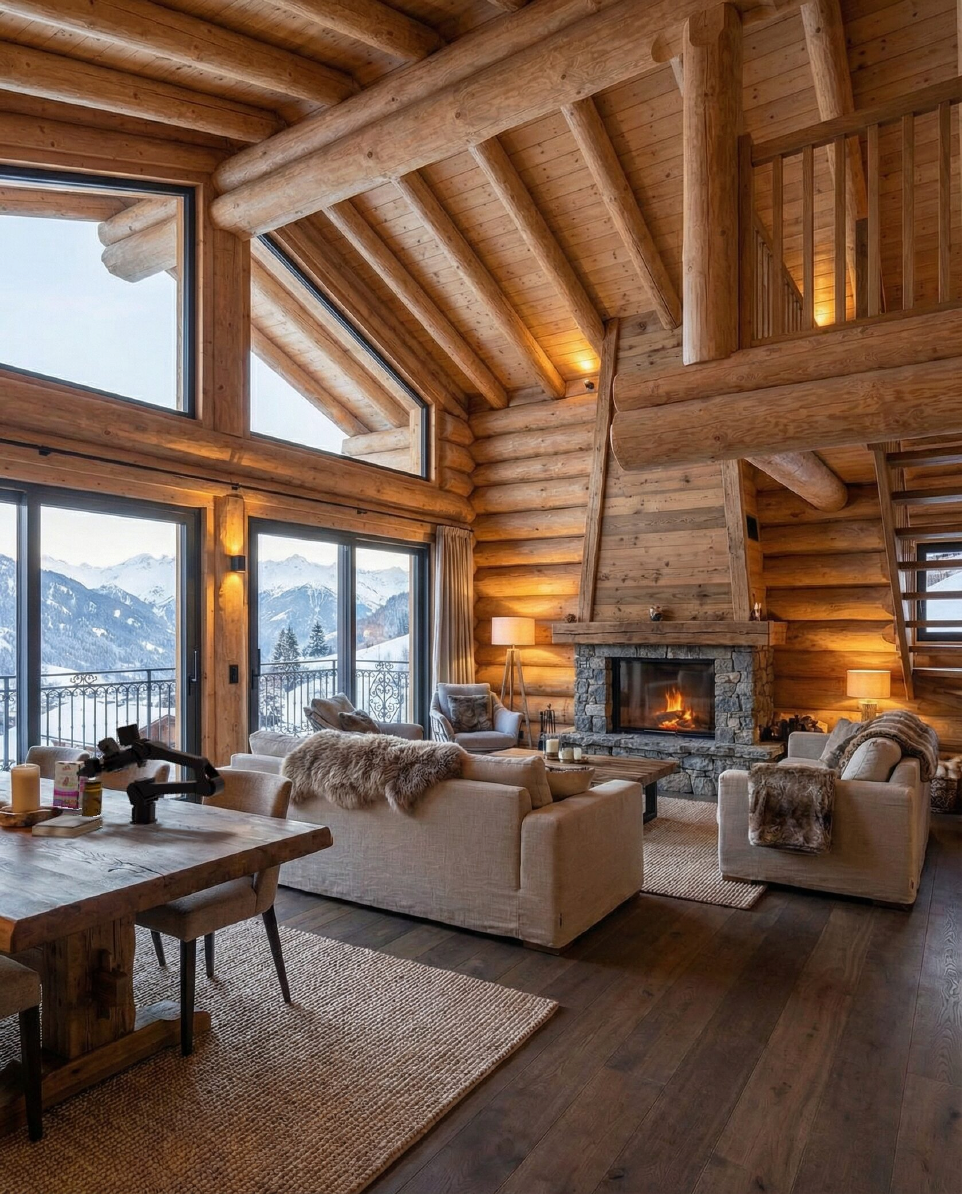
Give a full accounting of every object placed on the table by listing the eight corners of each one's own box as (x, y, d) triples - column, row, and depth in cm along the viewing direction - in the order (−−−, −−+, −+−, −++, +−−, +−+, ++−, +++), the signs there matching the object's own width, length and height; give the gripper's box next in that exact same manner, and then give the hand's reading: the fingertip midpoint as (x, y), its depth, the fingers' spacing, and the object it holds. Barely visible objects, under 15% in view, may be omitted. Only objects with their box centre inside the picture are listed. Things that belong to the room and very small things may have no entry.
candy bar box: (88, 808, 287) (90, 761, 288) (77, 811, 283) (79, 763, 283) (63, 805, 291) (65, 759, 291) (51, 808, 286) (53, 761, 287)
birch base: (102, 826, 261) (102, 817, 261) (73, 837, 247) (74, 827, 247) (62, 824, 263) (62, 814, 263) (32, 834, 249) (32, 824, 249)
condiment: (105, 816, 275) (106, 781, 275) (78, 820, 269) (80, 783, 270) (97, 813, 280) (99, 778, 281) (71, 816, 274) (73, 780, 275)
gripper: (136, 732, 281) (98, 745, 284) (100, 737, 263) (60, 752, 265) (145, 763, 279) (106, 776, 282) (109, 771, 261) (68, 785, 264)
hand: (86, 772), depth 273 cm, fingers open, 9 cm apart
